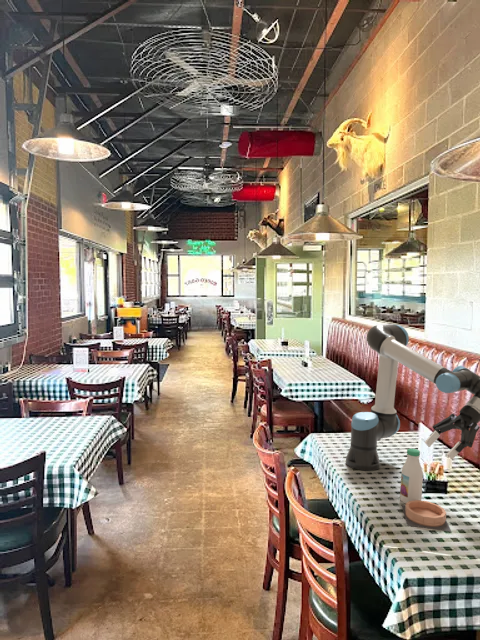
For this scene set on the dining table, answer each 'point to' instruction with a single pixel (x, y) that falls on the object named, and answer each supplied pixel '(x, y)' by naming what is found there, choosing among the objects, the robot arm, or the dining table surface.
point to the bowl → (425, 513)
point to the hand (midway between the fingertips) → (437, 450)
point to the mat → (413, 524)
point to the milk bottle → (411, 477)
